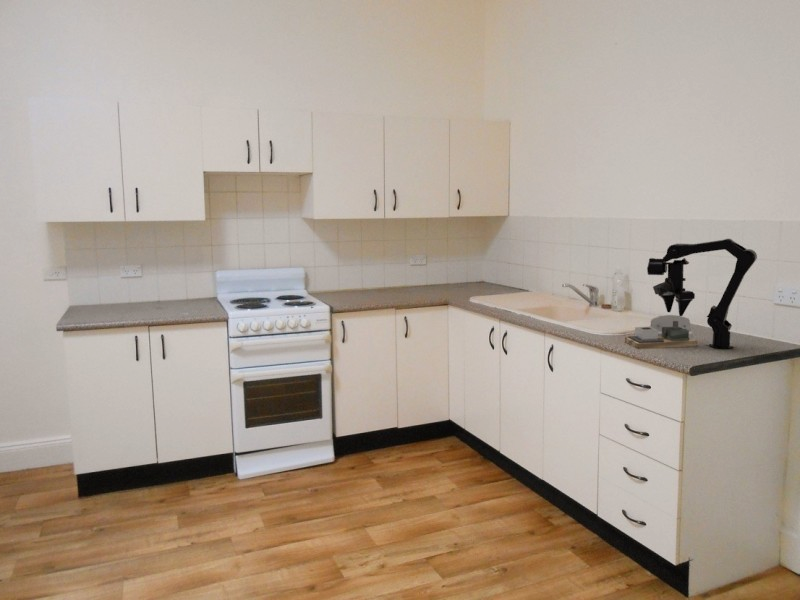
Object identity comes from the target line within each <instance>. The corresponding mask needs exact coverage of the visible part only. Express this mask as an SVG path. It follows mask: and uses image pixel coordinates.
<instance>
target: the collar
mask: <svg viewBox="0 0 800 600" xmlns="http://www.w3.org/2000/svg"><path fill="white" fill-rule="evenodd" d="M634 336H635V337H636V338H638V339H640V340H658V330H657V329H655V328H652V327H650V326H636V327H634Z"/></svg>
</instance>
